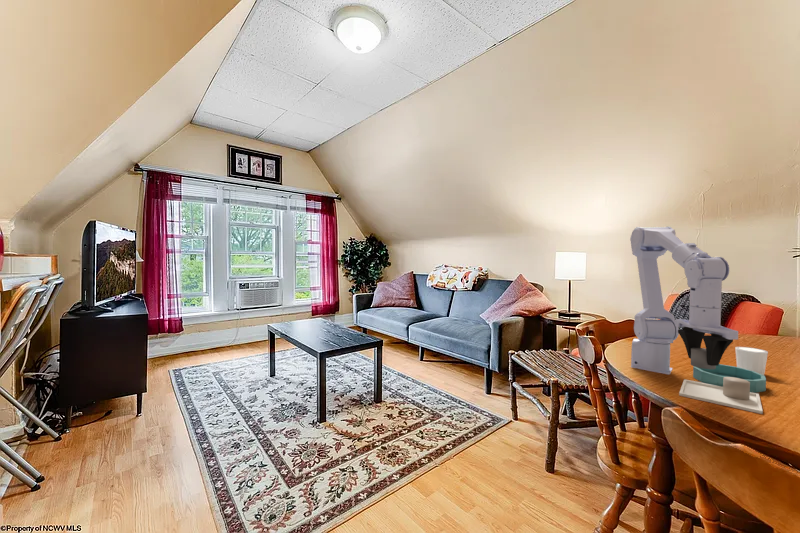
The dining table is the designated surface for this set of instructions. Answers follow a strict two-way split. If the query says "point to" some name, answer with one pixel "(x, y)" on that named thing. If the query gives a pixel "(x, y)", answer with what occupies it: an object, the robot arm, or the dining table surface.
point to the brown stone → (736, 388)
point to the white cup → (751, 359)
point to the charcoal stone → (700, 358)
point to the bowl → (723, 371)
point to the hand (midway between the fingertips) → (703, 361)
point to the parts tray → (719, 396)
